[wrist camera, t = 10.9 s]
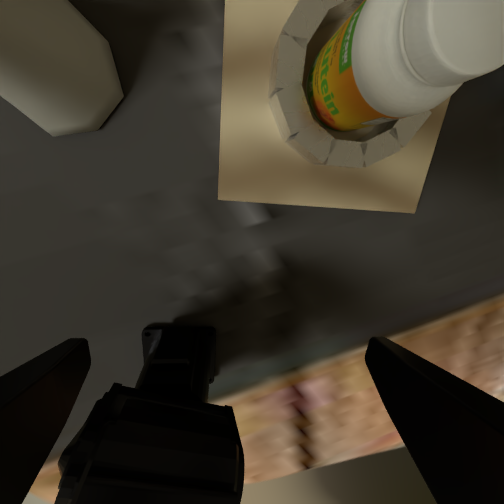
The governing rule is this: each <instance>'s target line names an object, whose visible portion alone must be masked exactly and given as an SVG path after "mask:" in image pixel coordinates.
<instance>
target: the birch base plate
mask: <svg viewBox="0 0 504 504" xmlns="http://www.w3.org/2000/svg"><path fill="white" fill-rule="evenodd" d="M298 1H299V0H225V18H224V45H223V73H222V101H221V129H220V157H219V184H218V200H230V201H244V202H259V203H273V204H288V205H302V206H317V207H332V208H346V209H361V210H375V211H390V212H404V213H415V211H416V207H417V204H418V201H419V198H420V194H421V191H422V188H423V185H424V181H425V178H426V175H427V172H428V168H429V165H430V162H431V159H432V155H433V152H434V149H435V146H436V142H437V139H438V136H439V133H440V129H441V126H442V123H443V120H444V116H445V113H446V110H447V107H448V103H449V100H450V97H451V96H450V97H449V98H447V99H446V100H445V101H443V102H442V103H441V104H439V105H438V106H436V107H434V108H433V109H430V111H431V115H430V116H429V117H428V118H427V120H426V121H425V122H424V123H423V125H422V126H421V127H420V128H419V130H418V131H417V132H416V133H415V135H414V136H413V137H412V139H411V140H410V141H409V142H408V144H407V145H406V146H405V147H404V148H400V149H401V151H399V152H396V153H394V154H392V155H390V156H388V157H386V158H384V159H382V160H380V161H378V162H376V163H374V164H372V165H370V166H368V167H362V168H346V167H334V166H323V165H313V164H314V163H309V162H308V161H307V160H305V159H304V158H303V157H302V156H301V155H299V154H298V153H297V152H296V151H294V150H293V149H292V148H291V147H289V146H288V145H287V144H286V143H285V141H286V139H287V138H288V137H286V138H284V139H282V138H281V135H280V132H279V130H278V127H277V124H276V122H275V119H274V116H273V114H272V111H271V109H270V106H269V101H270V100H271V99H269V98H268V90H269V79H270V68H271V57H272V52H273V50H274V47H275V44H276V42H277V40H278V37H279V35H280V33H281V30H282V28H283V27H284V25H285V23H286V21H287V20H288V18H289V16H290V15H291V13H292V11H293V10H294V8H295V6H296V5H297V3H298ZM346 21H347V20H345V19H339V20H337V21H335V22H333V23H331V24H329V25H328V26H326V27H324V28H322V29H320V30H318V31H316V32H315V33H314V34H313V36H312V37H311V39H310V41H309V42H308V44H307V48H306V56H305V64H304V72H303V79H302V88H303V91H304V94H305V97H306V81H307V76H308V72H309V69H310V67H311V65H312V62H313V61H314V59H315V57H316V56H317V54H318V53H319V52H320V50H321V49H322V48H323V47H324V46H325V44H326V43H327V42H328V41H329V40H330V39H331V38H332V37H333V35H334V34H335V33H336V32H337V31H338V30H339V29H340V27H341V26H342V25H343V24H344V23H345V22H346ZM306 100H307V99H306ZM311 115H312V114H311ZM312 118H313V120H314V121H315V122H316V123H318V122H317V121H316V120H315V119H314V117H313V116H312ZM318 124H319V123H318ZM319 125H320V124H319ZM320 126H321V125H320ZM374 126H375V125H373V126H369V127H365V128H361V129H357V130H353V131H347V132H334V131H330V130H328V129H326V128H324V127H322V126H321V127H322V128H323V129H324V130H326V131H327V132H328V133H329V134H330V135H331V136H332V137H334V138H335V139H337V140H346V141H355V140H357V139H359V138H361V137H363V136H365V135H367V134H369V133H370V132H371V130H372V129H373V128H374Z"/></svg>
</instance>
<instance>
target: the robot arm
mask: <svg viewBox="0 0 504 504" xmlns="http://www.w3.org/2000/svg"><path fill="white" fill-rule="evenodd" d="M146 332H149V333H150V334H148V333H146ZM209 332H212V333H211V334H210V333H209ZM142 344H143V357H144V366H143V368H142V371H141V373H140V376H139V378H138V381H137V383H136V386H135V388H131V387H126V386H122V384H119V383H115V382H114V384H113V385H112V387H111V389H110V391H109V392H106V393H105V394H104V396H103V398H102V399H100V400H97V402H96V403H95V405H94V407H93V409H92V411H91V413H90V415H89V417H88V418H87V420H86V422H85V423H84V425H83V426H82V428H81V429H80V430H79V432H78V433H77V434H76V435H75V437H74V438H73V439H72V441H71V442H70V443H69V444H68V446H67V447H66V448H65V450H64V451H63V453H62V455H61V457H60V459H59V461H58V467H59V471H60V474H61V480H60V483H59V486H58V489H59V492H58V495H57V497H56V500H55V503H54V504H240V502H241V497H242V491H243V484H244V453H243V448H242V444H241V440H240V436H239V432H238V428H237V424H236V420H235V416H234V412H233V408H232V406H227V405H225V406H219V405H214V404H209V403H208V392H209V384H211V383H213V381H214V370H215V345H216V329H215V328H214V327H146V328H144V329H143V331H142ZM365 362H366V365H367V367H368V370H369V372H370V374H371V376H372V379H373V381H374V383H375V386H376V388H377V390H378V393H379V395H380V397H381V399H382V402H383V404H384V406H385V408H386V410H387V412H388V414H389V416H390V418H391V420H392V422H393V423H394V425H395V427H396V429H397V431H398V433H399V434H400V436H401V438H402V440H403V442H404V444H405V446H406V447H407V449H408V451H409V453H410V455H411V457H412V458H413V460H414V462H415V464H416V466H417V468H418V469H419V471H420V473H421V475H422V477H423V479H424V481H425V482H426V484H427V486H428V488H429V490H430V492H431V494H432V495H433V497H434V499H435V501H436V503H437V504H504V402H502V401H500V400H498V399H497V398H495V397H493V396H491V395H489V394H487V393H486V392H484V391H482V390H480V389H478V388H477V387H475V386H473V385H471V384H469V383H467V382H466V381H464V380H462V379H460V378H458V377H456V376H455V375H453V374H451V373H449V372H447V371H445V370H444V369H442V368H440V367H438V366H436V365H435V364H433V363H431V362H429V361H427V360H425V359H424V358H422V357H420V356H418V355H416V354H414V353H413V352H411V351H409V350H407V349H405V348H403V347H402V346H400V345H398V344H396V343H394V342H392V341H391V340H389V339H387V338H385V337H372V338H371V339H370V340H369V344H368V347H367V350H366V354H365ZM90 365H91V357H90V351H89V346H88V341H87V340H86V339H85V338H70V339H68V340H66V341H64V342H62V343H61V344H59V345H57V346H55V347H53V348H52V349H50V350H48V351H46V352H44V353H42V354H41V355H39V356H37V357H35V358H33V359H32V360H30V361H28V362H26V363H24V364H23V365H21V366H19V367H17V368H15V369H14V370H12V371H10V372H8V373H6V374H4V375H3V376H1V377H0V504H22V502H23V501H24V499H25V497H26V495H27V493H28V492H29V490H30V488H31V486H32V484H33V482H34V481H35V479H36V477H37V475H38V473H39V472H40V470H41V468H42V466H43V464H44V462H45V461H46V459H47V457H48V455H49V453H50V452H51V450H52V448H53V446H54V444H55V442H56V441H57V439H58V437H59V435H60V433H61V431H62V429H63V428H64V426H65V424H66V421H67V419H68V417H69V415H70V413H71V410H72V408H73V406H74V404H75V401H76V399H77V397H78V394H79V392H80V390H81V387H82V385H83V383H84V380H85V378H86V376H87V374H88V371H89V369H90ZM209 378H210V379H209Z"/></svg>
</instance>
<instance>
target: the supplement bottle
mask: <svg viewBox="0 0 504 504" xmlns="http://www.w3.org/2000/svg"><path fill="white" fill-rule="evenodd" d="M502 65H504V0H364V1H363V2H362V3H361V4H360V6H359V7H358V8H357V9H356V10H355V11H354V12H353V14H352V15H351V16H350V17H349V18H348V19H347V21H346V22H345V23H344V24H343V25H342V26H341V27H340V29H339V30H338V31H337V32H336V33H335V34H334V35H333V37H332V38H331V39H330V40H329V41H328V42H327V43H326V44H325V46H324V47H323V48H322V49H321V50H320V52H319V53H318V54H317V56H316V57H315V59H314V61H313V62H312V65H311V67H310V69H309V72H308V76H307V81H306V99H307V103H308V106H309V109H310V112H311V114H312V116H313V117H314V119H315V120H316V121H317V122H318V123H319V124H320V125H321V126H322V127H324V128H326V129H328V130H330V131H334V132H347V131H353V130H357V129H361V128H365V127H369V126H373V125H377V124H381V123H385V122H389V121H393V120H397V119H402V118H406V117H410V116H414V115H417V114H420V113H423V112H426V111H428V110H430V109H432V108H434V107H436V106H438V105H439V104H441V103H442V102H443V101H445V100H446V99H447V98H449V97H450V96H451V95H452V94H453V93H454V92H455V91H456V90H457V89H458V88H459V87H460V86H461V85H462V84H463V83H464V82H466V81H468V80H471V79H474V78H476V77H479V76H482V75H484V74H487V73H489V72H492V71H494V70H495V69H497V68H499V67H501V66H502Z"/></svg>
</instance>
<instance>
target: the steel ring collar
mask: <svg viewBox="0 0 504 504" xmlns="http://www.w3.org/2000/svg"><path fill="white" fill-rule="evenodd" d="M363 1H364V0H299V1H298V3H297V5H296V6H295V8H294V10H293V11H292V13H291V15H290V16H289V18H288V20H287V21H286V23H285V25H284V27H283V28H282V30H281V33H280V35H279V37H278V40H277V42H276V44H275V47H274V50H273V52H272V57H271V68H270V79H269V90H268V98H269V99H271V100H270V101H269V106H270V109H271V111H272V114H273V116H274V119H275V122H276V124H277V127H278V130H279V132H280V135H281V138H282V139H284V138H286V137H288V138H287V139H286V141H285V143H286V144H287V145H288V146H289V147H291V148H292V149H293V150H294V151H296V152H297V153H298V154H299V155H301V156H302V157H303V158H304V159H305V160H307V161H308V162H309V163H314V164H313V165H323V166H334V167H346V168H362V167H368V166H370V165H372V164H374V163H376V162H378V161H380V160H382V159H384V158H386V157H388V156H390V155H392V154H394V153H396V152H399V151H401V149H400V148H404V147H405V146H406V145H407V144H408V142H409V141H410V140H411V139H412V137H413V136H414V135H415V133H416V132H417V131H418V130H419V128H420V127H421V126H422V125H423V123H424V122H425V121H426V120H427V118H428V117H429V116H430V115H431V111H430V110H428V111H426V112H423V113H420V114H417V115H414V116H410V117H406V118H402V119H397V120H393V121H389V122H385V123H381V124H377V125H375V126H374V128H373V129H372V130H371V132H370V133H369V134H367V135H365V136H363V137H361V138H359V139H357V140H355V141H346V140H337V139H335V138H334V137H332V136H331V135H330V134H329V133H328V132H327V131H326V130H324V129H323V128H322V127H321V126H320V125H319V124H318V123H316V122H315V121H314V120H313V118H312V115H311V112H310V109H309V106H308V103H307V100H306V97H305V94H304V91H303V88H302V79H303V72H304V64H305V56H306V48H307V44H308V42H309V41H310V39H311V37H312V36H313V34H314V33H315V32H316V31H318V30H320V29H322V28H324V27H326V26H328V25H329V24H331V23H333V22H335V21H337V20H339V19H345V20H347V19H348V18H349V17H350V16H351V15H352V14H353V12H354V11H355V10H356V9H357V8H358V7H359V6H360V4H361V3H362V2H363ZM432 109H433V108H432Z"/></svg>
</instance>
